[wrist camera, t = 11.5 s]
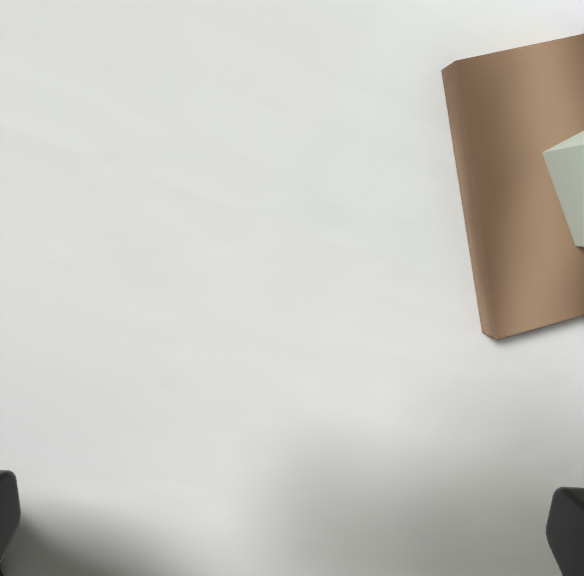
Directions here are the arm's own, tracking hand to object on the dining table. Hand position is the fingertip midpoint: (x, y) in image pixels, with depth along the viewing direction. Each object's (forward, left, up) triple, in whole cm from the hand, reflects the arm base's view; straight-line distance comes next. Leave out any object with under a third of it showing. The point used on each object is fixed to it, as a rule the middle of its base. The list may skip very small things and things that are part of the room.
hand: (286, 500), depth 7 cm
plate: (+17, +3, -13) cm, 21 cm away
